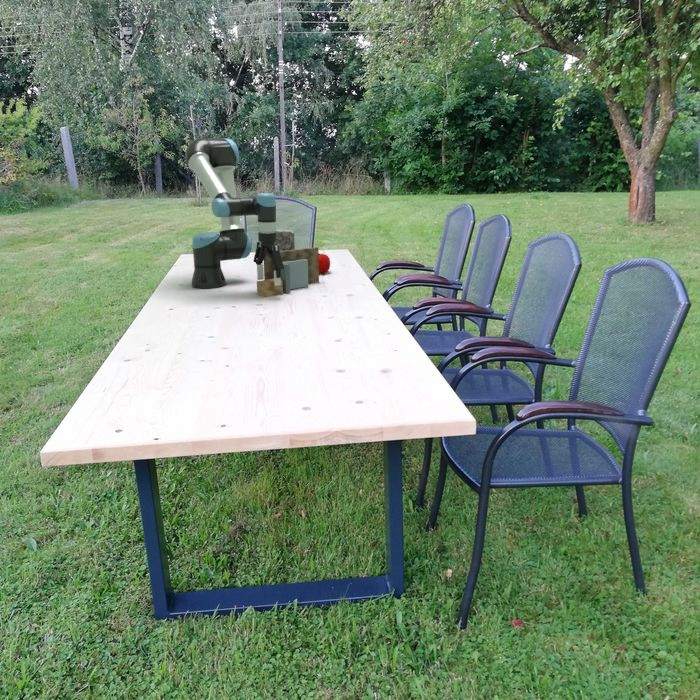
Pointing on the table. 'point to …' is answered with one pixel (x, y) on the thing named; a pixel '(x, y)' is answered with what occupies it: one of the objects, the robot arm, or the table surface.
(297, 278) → the gate
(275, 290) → the block
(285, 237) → the stone block
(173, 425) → the table surface
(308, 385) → the table surface
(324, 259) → the tomato
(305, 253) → the wall frame
